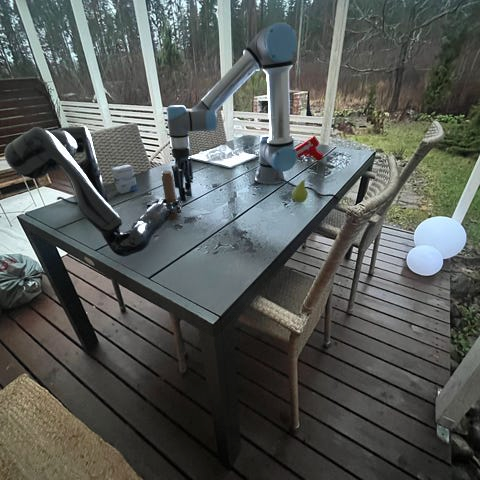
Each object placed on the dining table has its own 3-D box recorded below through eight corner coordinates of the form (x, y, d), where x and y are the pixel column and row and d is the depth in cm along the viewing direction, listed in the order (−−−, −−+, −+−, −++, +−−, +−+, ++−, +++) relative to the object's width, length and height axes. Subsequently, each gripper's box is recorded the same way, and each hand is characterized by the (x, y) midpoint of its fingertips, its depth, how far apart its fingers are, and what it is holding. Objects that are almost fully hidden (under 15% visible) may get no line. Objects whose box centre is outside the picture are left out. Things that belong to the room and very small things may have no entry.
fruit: (288, 200, 123) (290, 174, 116) (302, 197, 125) (305, 172, 119) (296, 206, 118) (299, 179, 111) (310, 203, 120) (314, 177, 114)
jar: (173, 213, 113) (166, 169, 103) (180, 215, 112) (174, 171, 102) (166, 217, 110) (158, 172, 100) (173, 219, 109) (166, 174, 99)
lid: (180, 195, 121) (180, 192, 120) (179, 191, 125) (178, 188, 124) (191, 194, 123) (191, 191, 122) (189, 190, 127) (189, 187, 126)
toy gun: (327, 155, 171) (314, 135, 167) (326, 157, 167) (314, 136, 164) (302, 170, 181) (290, 151, 177) (301, 172, 177) (288, 153, 174)
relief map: (230, 168, 162) (230, 159, 159) (189, 158, 180) (188, 150, 177) (256, 157, 180) (256, 149, 177) (216, 149, 198) (215, 142, 195)
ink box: (133, 186, 138) (127, 163, 132) (137, 189, 135) (132, 165, 129) (116, 191, 133) (110, 167, 127) (121, 194, 130) (114, 170, 124)
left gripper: (171, 209, 92) (189, 190, 106) (133, 206, 95) (156, 188, 109) (174, 228, 96) (191, 208, 111) (138, 225, 99) (159, 205, 113)
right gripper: (183, 141, 121) (188, 190, 133) (160, 151, 107) (168, 205, 119) (198, 142, 119) (202, 192, 131) (177, 153, 105) (183, 207, 117)
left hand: (173, 198), depth 110 cm, fingers closed on jar, 4 cm apart
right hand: (186, 198), depth 125 cm, fingers closed on lid, 5 cm apart
